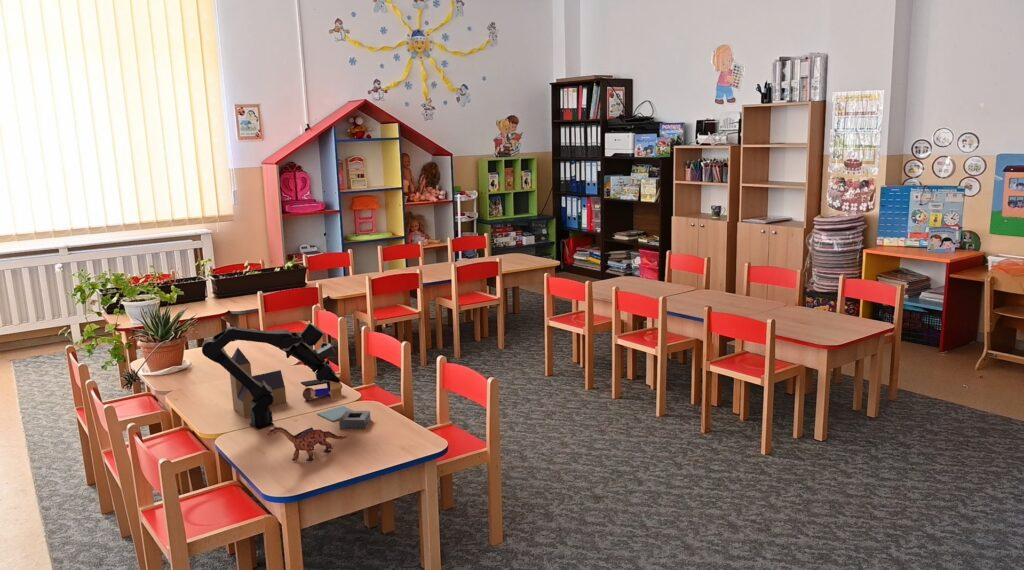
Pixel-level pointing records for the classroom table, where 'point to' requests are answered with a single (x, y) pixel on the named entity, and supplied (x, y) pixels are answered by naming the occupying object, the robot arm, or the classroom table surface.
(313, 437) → the toy dinosaur
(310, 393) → the figurine character
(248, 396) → the toy building blocks
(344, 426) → the socket block
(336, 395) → the peg
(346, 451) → the classroom table surface
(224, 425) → the classroom table surface
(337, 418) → the pad
